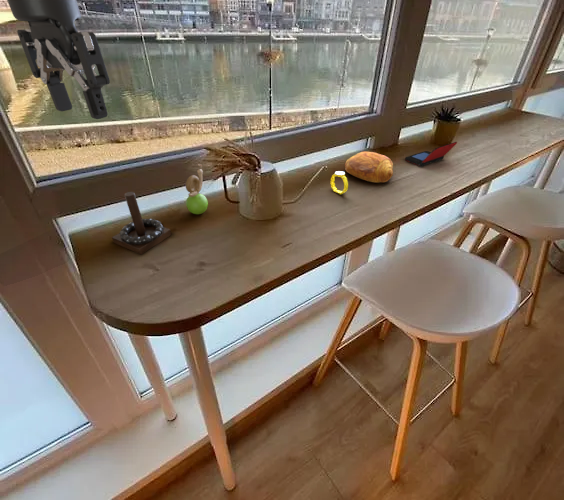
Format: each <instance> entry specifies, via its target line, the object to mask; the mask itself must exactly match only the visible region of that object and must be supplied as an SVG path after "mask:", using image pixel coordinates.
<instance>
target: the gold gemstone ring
mask: <svg viewBox="0 0 564 500" xmlns="http://www.w3.org/2000/svg"><path fill="white" fill-rule="evenodd" d="M336 177H338V178H341V180H342V181H343V189H342V190H340V189H338V188H337V187H336V183H335V178H336ZM329 182H330V183H329V184H330V187H331V190H332V192H335V193H337V194H338V195H343V194H345V193H346V192H347V191H348V189H349V181H348V178H347V177H346V172H345V171H341V170H338V171H335V172H334V174H332V175H331V177H330V181H329Z"/></svg>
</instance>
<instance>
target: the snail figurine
mask: <svg viewBox="0 0 564 500" xmlns="http://www.w3.org/2000/svg"><path fill="white" fill-rule="evenodd" d="M197 167H198V169H197V170H196V171H197V172H196V173H197V175H195V174H192V175H190V176H188V178H187V179H186V181H185V190H186V191H187V192H188V194H187V195H188V197H187V198H186V200H185V205H186V208H187V210H188V212H190V213H191V214H193V215H202V214H203V213H205V212H206V211H207V210H208V207H209V201H208V198H207V197H206V196H205V195H204V194H202V193H200V191H201V190H202V188H203V179H204V178H203V172H204V171H203V168H202V167H203V165H202V164H200V163H197Z"/></svg>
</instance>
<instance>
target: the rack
mask: <svg viewBox="0 0 564 500" xmlns="http://www.w3.org/2000/svg"><path fill="white" fill-rule="evenodd" d="M124 198H125V201H126V204H127V207H128V211H129V214H130V217H131V220H132V222H133V223H134V227H135V229H133V230H131V231H130V232H129V233H128V236H131V237H142V236H146V235H149V234H151V233H152V232H154V231H155V230H156V227H153V226H144V223H143V220H142V219H143V217H142V214H141V211H140V207H139V204H138V200H137V197H136V194H135V192H134V191H127V192H125V193H124ZM163 227H164V231H163V232H162V234H161V236H160V237H158V238H157V239H155V240H154V241H152V242H148V243H145V244H128V243H126V242H124V241H122V240H121V237H120V232H118V233H117V234H115V235H114V236H112V237H111V239H112V242H113V243H114V244H116V245H117V246H120V247H122V248H125V249H127V250H129V251H131V252H134V253H136V254H139V255H143V254H144V253H146V252H147V251H149V250H151V249H152V248H154V247H155V246H157V245H158V244H160V243H162V242H163V241H165V240H166V239H167V238H169V237H170V236H172V231H171V228H168V227H165V226H163Z"/></svg>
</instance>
